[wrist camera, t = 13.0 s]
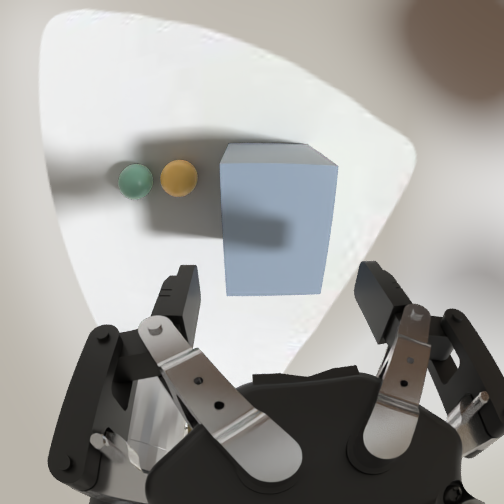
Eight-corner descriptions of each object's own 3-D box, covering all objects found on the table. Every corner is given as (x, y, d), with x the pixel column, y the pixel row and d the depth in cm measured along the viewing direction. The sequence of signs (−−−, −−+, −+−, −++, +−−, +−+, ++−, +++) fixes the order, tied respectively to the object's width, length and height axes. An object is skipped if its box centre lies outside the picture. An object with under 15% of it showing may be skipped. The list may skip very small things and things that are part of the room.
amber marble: (201, 189, 23) (195, 201, 20) (167, 191, 23) (158, 203, 20) (199, 155, 21) (192, 162, 19) (164, 158, 21) (153, 165, 18)
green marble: (159, 191, 23) (148, 204, 20) (129, 194, 23) (115, 206, 20) (155, 158, 21) (143, 166, 18) (124, 162, 21) (109, 171, 18)
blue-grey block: (228, 143, 21) (219, 163, 14) (307, 144, 21) (338, 165, 14) (231, 239, 25) (226, 296, 18) (301, 239, 25) (320, 293, 18)
